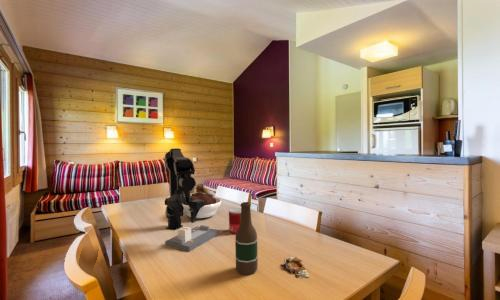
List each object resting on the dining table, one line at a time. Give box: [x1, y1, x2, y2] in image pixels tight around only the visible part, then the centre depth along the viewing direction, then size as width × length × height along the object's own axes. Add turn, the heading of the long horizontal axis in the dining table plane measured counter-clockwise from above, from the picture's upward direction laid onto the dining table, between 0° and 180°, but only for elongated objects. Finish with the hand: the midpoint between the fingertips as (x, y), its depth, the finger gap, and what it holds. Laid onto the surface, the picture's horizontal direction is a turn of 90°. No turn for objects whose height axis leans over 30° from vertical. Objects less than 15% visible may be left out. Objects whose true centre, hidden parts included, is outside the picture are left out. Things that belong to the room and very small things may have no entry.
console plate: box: [164, 224, 220, 252], centre depth 119 cm, size 14×22×4 cm, turn 152°
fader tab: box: [177, 226, 192, 242], centre depth 114 cm, size 4×4×5 cm
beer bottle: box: [234, 201, 259, 276], centre depth 89 cm, size 8×8×24 cm
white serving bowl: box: [182, 191, 222, 219], centre depth 157 cm, size 25×25×15 cm
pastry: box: [279, 256, 310, 280], centre depth 90 cm, size 7×12×4 cm, turn 31°
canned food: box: [228, 208, 241, 235], centre depth 129 cm, size 8×8×11 cm
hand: (184, 221), depth 113 cm, fingers open, 9 cm apart
